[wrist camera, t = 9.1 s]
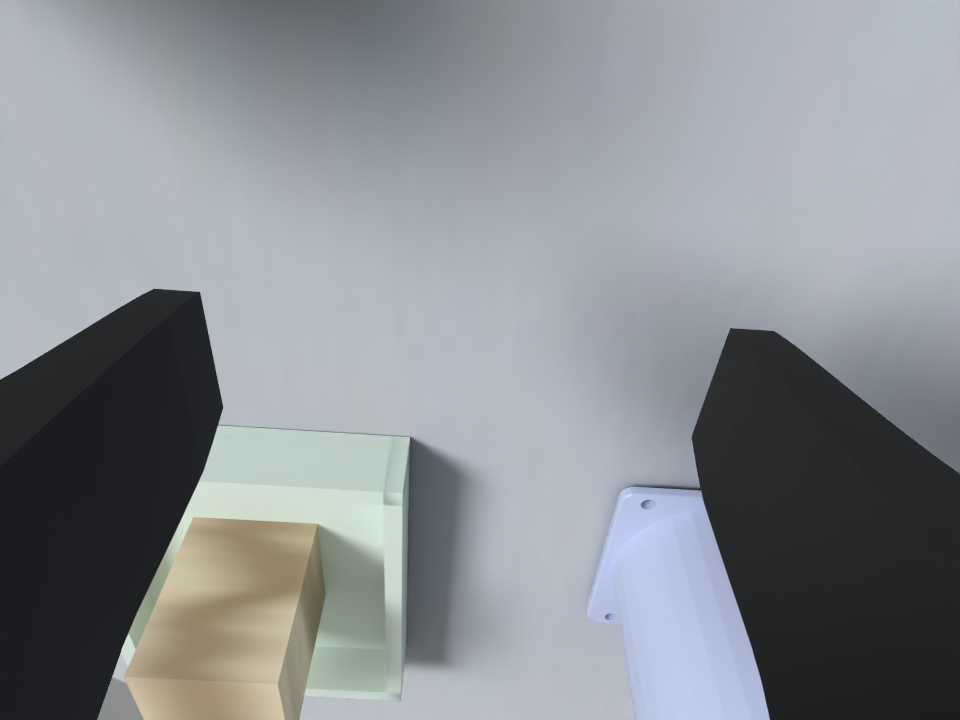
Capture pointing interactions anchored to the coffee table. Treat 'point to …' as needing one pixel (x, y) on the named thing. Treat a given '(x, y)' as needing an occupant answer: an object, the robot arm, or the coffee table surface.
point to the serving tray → (321, 541)
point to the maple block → (232, 624)
